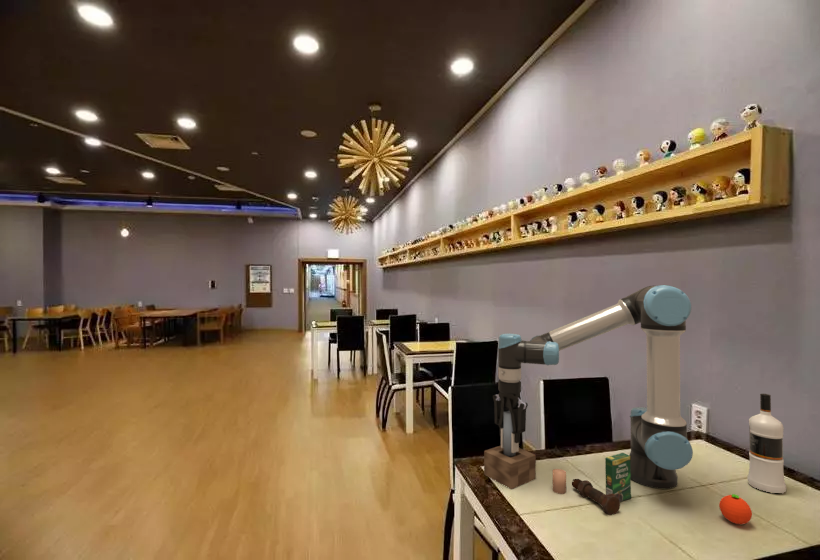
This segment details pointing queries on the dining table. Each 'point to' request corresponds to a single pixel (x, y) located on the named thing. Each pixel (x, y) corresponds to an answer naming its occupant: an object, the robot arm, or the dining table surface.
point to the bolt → (597, 496)
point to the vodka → (766, 450)
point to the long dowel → (508, 434)
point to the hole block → (510, 467)
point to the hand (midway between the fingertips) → (509, 449)
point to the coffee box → (618, 476)
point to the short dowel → (559, 481)
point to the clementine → (735, 509)
